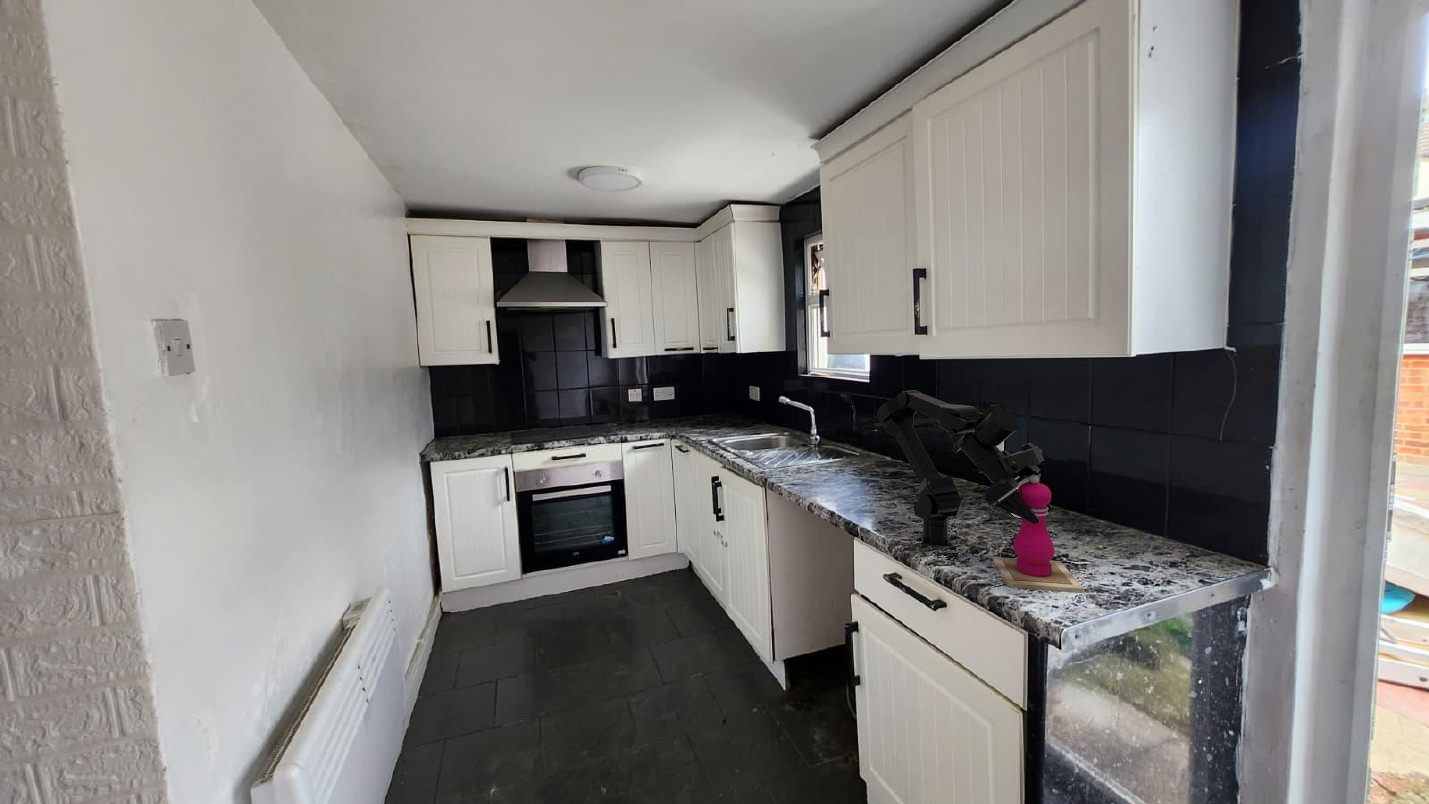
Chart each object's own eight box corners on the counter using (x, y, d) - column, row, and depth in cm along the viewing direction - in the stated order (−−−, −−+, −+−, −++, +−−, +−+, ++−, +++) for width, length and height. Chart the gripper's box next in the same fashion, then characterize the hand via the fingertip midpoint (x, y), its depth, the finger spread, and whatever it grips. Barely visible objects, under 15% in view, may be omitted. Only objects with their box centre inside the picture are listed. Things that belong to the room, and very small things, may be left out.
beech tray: (992, 560, 117) (992, 556, 117) (1059, 564, 113) (1060, 560, 113) (1008, 587, 104) (1008, 582, 104) (1084, 592, 101) (1084, 587, 101)
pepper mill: (1039, 562, 113) (1039, 469, 111) (1063, 576, 105) (1063, 477, 103) (1006, 564, 112) (1006, 471, 110) (1027, 578, 105) (1027, 480, 103)
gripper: (1001, 439, 102) (1066, 505, 95) (1030, 426, 115) (1089, 483, 108) (958, 473, 108) (1017, 537, 102) (991, 457, 121) (1044, 513, 115)
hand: (1044, 516), depth 106 cm, fingers open, 9 cm apart
